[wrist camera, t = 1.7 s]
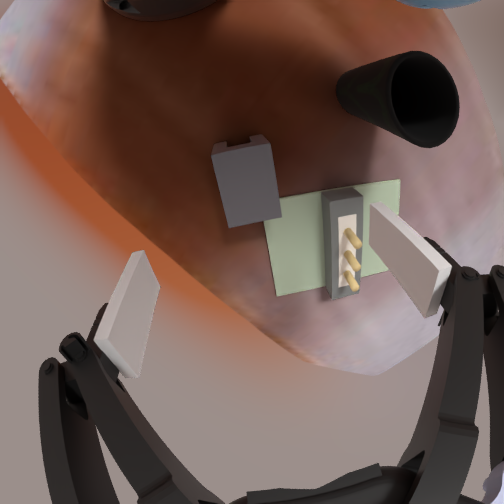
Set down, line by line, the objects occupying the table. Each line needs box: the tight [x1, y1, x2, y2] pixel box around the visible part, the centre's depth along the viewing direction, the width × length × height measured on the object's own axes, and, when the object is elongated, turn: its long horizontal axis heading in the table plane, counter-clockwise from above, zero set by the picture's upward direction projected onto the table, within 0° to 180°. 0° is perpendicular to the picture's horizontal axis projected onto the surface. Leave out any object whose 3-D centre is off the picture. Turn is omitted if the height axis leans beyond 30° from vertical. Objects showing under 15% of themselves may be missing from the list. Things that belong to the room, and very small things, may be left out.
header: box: [264, 179, 400, 300], centre depth 31 cm, size 14×18×6 cm
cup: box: [336, 51, 460, 148], centre depth 19 cm, size 8×8×12 cm
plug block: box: [211, 134, 282, 228], centre depth 26 cm, size 7×5×6 cm
